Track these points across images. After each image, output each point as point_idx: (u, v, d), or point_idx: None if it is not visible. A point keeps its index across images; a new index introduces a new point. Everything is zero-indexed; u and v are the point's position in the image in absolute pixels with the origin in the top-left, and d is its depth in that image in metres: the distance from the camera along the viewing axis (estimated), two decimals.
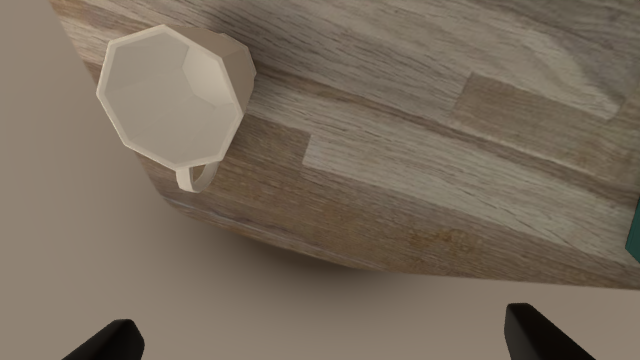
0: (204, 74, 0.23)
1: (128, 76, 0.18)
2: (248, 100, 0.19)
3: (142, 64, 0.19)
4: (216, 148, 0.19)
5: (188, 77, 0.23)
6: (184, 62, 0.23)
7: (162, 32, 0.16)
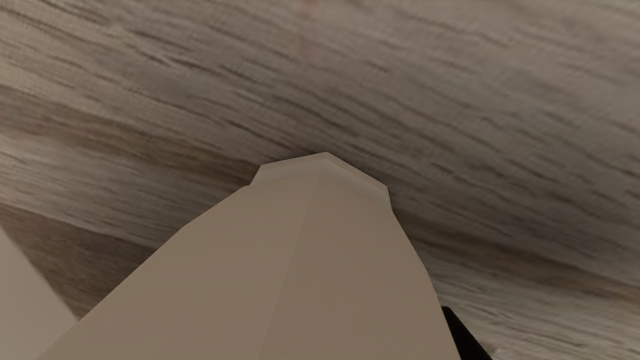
0: None
1: None
2: None
3: None
4: None
5: None
6: None
7: None
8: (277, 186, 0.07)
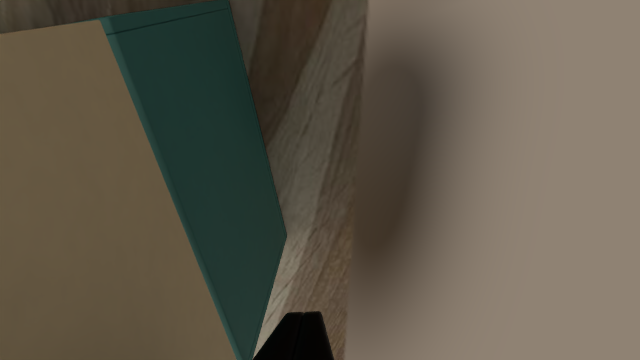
0: None
1: None
2: None
3: None
4: None
5: None
6: None
7: None
8: None
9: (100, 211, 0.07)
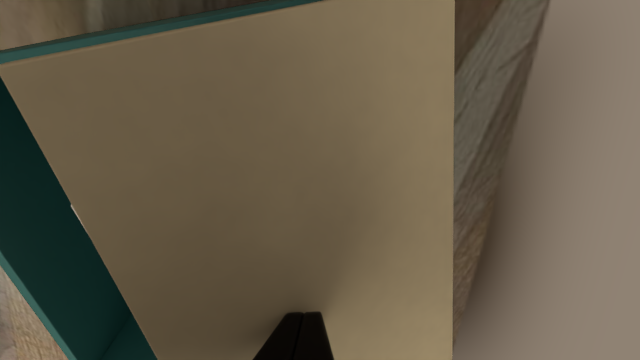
0: None
1: None
2: None
3: None
4: None
5: None
6: None
7: None
8: None
9: (345, 174, 0.08)
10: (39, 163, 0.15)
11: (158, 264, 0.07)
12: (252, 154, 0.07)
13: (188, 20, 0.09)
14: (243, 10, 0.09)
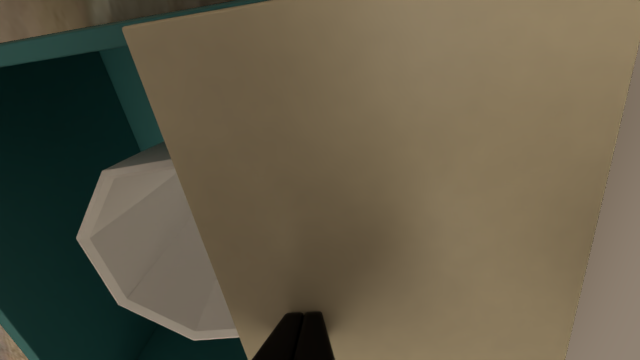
0: None
1: (195, 287, 0.13)
2: None
3: (191, 262, 0.14)
4: None
5: None
6: None
7: (92, 241, 0.11)
8: None
9: (434, 181, 0.07)
10: (36, 182, 0.12)
11: (230, 220, 0.07)
12: (327, 138, 0.06)
13: (247, 2, 0.06)
14: None
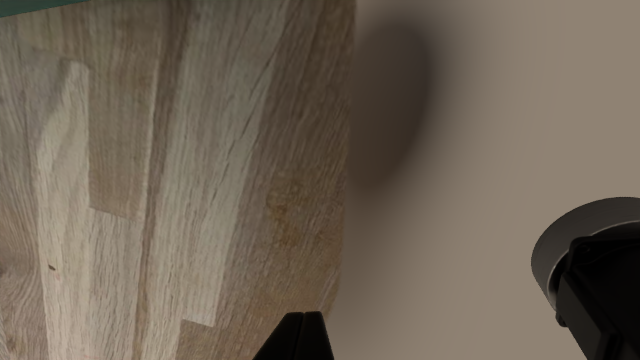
0: None
1: None
2: None
3: None
4: None
5: None
6: None
7: None
8: None
9: None
10: None
11: None
12: None
13: None
14: None
